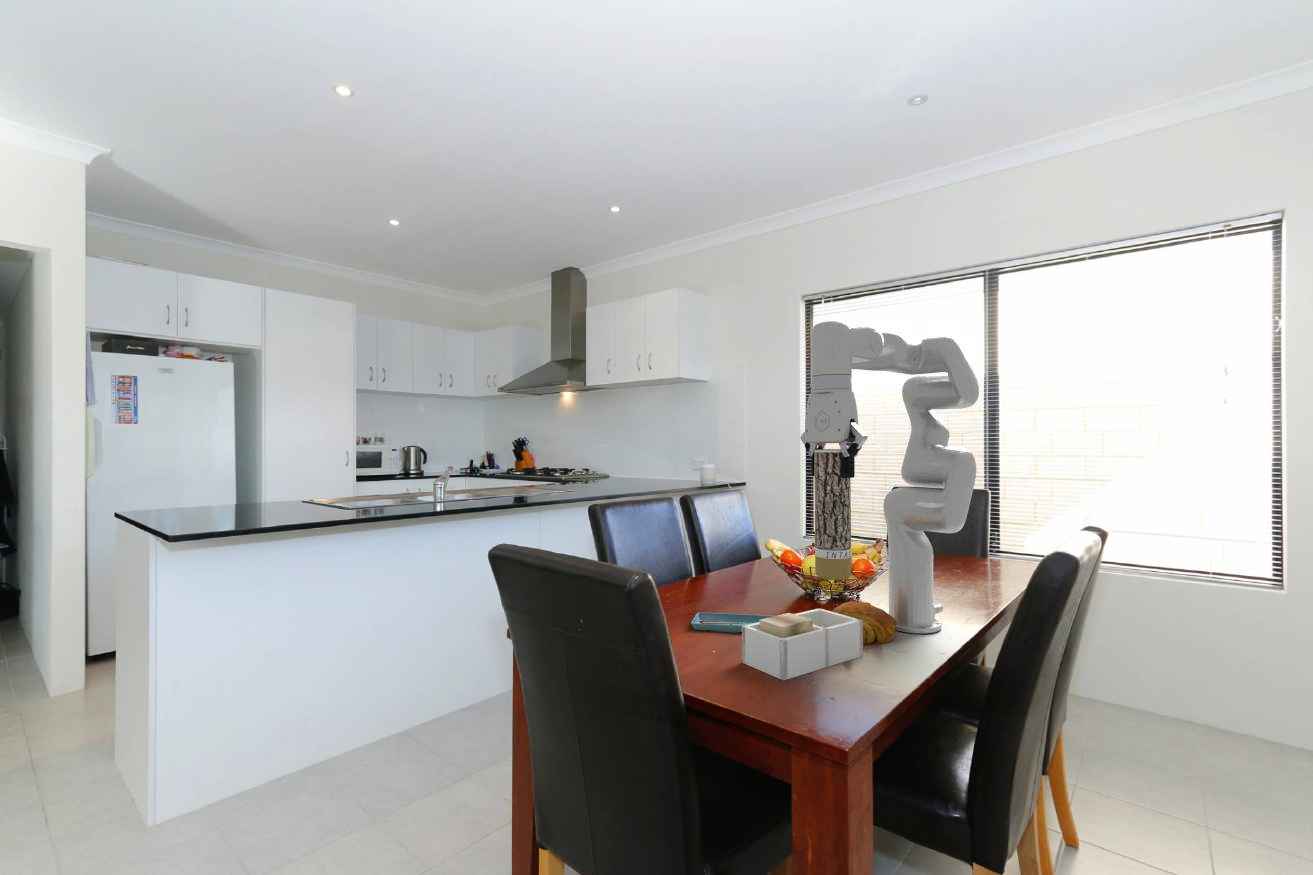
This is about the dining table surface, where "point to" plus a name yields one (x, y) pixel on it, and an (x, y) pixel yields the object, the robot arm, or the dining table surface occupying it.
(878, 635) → the croissant
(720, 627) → the teal serving tray
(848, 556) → the bark print cylinder
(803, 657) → the divided box
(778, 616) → the offcut top
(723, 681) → the dining table surface
